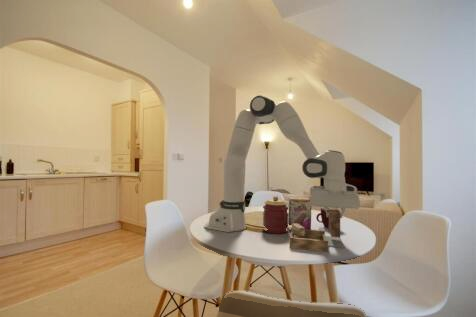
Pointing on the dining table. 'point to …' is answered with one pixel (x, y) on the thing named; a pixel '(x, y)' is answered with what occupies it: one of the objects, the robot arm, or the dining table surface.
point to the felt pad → (335, 242)
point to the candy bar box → (300, 212)
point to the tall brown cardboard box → (334, 222)
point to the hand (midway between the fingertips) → (334, 217)
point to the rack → (310, 241)
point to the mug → (323, 218)
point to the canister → (275, 216)
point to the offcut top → (298, 229)
